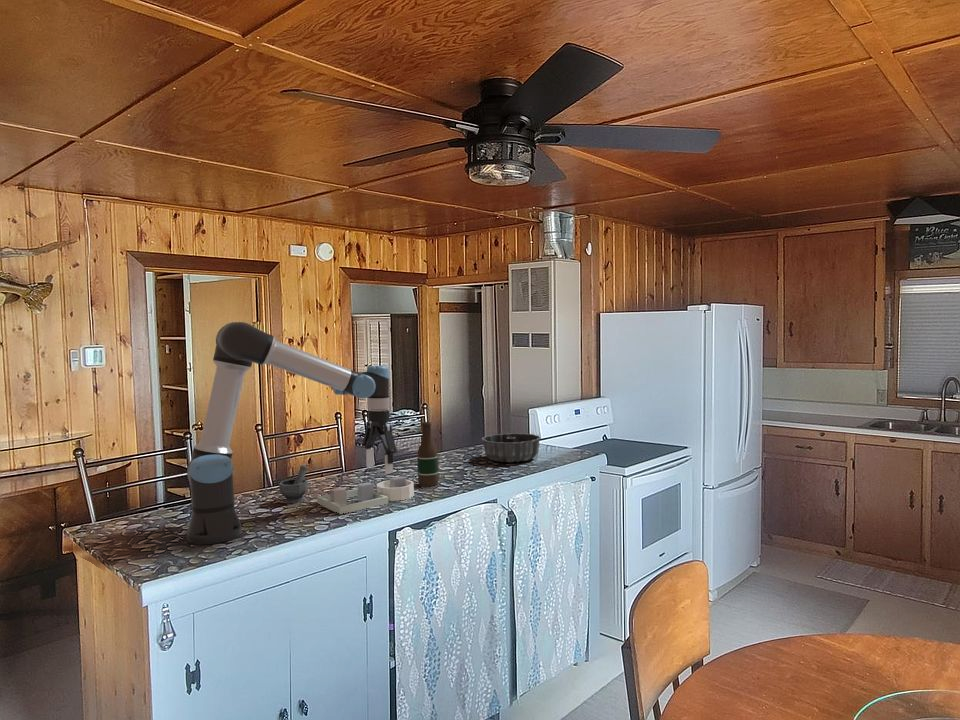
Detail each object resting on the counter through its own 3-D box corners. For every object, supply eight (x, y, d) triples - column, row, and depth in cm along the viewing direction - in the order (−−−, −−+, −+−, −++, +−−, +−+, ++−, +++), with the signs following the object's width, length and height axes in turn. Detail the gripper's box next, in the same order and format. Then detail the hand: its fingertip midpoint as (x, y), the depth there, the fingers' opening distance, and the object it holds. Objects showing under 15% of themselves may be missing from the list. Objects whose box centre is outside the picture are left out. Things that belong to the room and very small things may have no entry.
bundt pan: (486, 453, 307) (485, 432, 306) (542, 453, 303) (541, 432, 303) (478, 465, 281) (477, 442, 280) (539, 465, 277) (539, 442, 277)
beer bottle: (442, 484, 249) (440, 421, 248) (427, 488, 244) (425, 424, 242) (429, 481, 255) (427, 420, 253) (414, 485, 249) (411, 422, 248)
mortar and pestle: (292, 506, 224) (290, 471, 224) (274, 502, 229) (272, 469, 229) (317, 498, 234) (315, 465, 233) (299, 495, 239) (297, 463, 238)
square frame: (340, 514, 213) (339, 507, 213) (317, 503, 227) (316, 496, 227) (388, 503, 224) (388, 496, 224) (363, 494, 238) (363, 487, 238)
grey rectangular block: (394, 496, 230) (394, 479, 229) (390, 494, 233) (389, 478, 232) (406, 494, 232) (405, 477, 232) (401, 492, 235) (400, 476, 235)
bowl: (389, 503, 224) (388, 490, 224) (370, 496, 235) (370, 483, 234) (420, 496, 232) (420, 483, 232) (401, 489, 243) (401, 477, 242)
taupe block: (334, 509, 219) (334, 491, 219) (330, 507, 222) (329, 489, 222) (347, 506, 222) (346, 489, 222) (342, 504, 225) (341, 487, 224)
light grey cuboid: (362, 503, 226) (361, 486, 225) (358, 501, 228) (357, 484, 228) (374, 500, 228) (373, 483, 228) (369, 498, 231) (368, 482, 231)
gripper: (406, 412, 221) (407, 474, 222) (371, 405, 241) (371, 462, 242) (386, 413, 216) (387, 477, 217) (352, 407, 236) (353, 465, 237)
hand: (379, 469), depth 230 cm, fingers open, 13 cm apart
